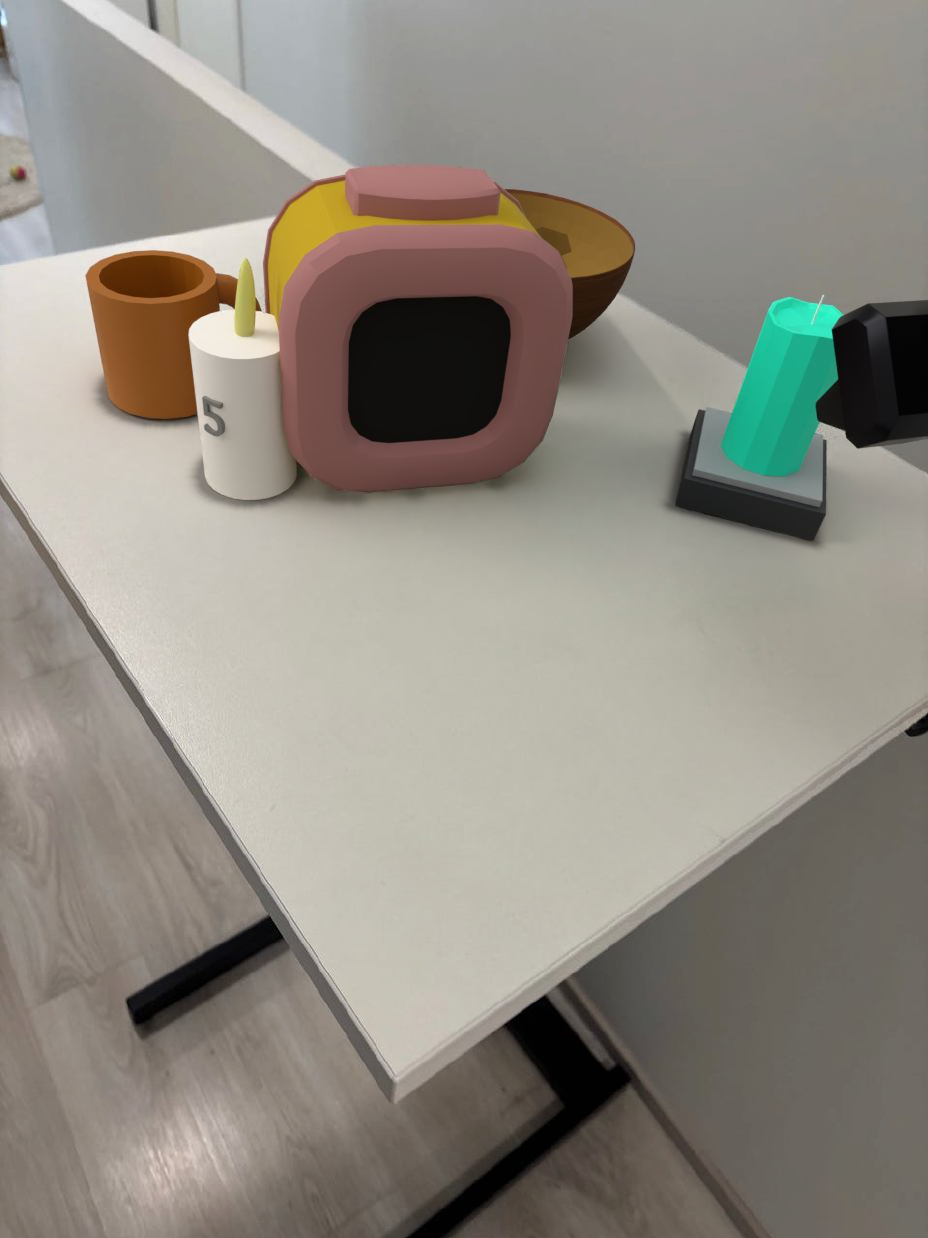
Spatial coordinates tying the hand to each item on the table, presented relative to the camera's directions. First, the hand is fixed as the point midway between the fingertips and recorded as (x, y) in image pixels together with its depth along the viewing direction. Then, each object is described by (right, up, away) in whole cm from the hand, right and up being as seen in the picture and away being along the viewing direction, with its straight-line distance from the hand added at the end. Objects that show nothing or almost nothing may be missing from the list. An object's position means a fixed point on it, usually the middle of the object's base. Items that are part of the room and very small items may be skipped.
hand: (885, 405), depth 52 cm
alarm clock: (-28, 0, +15) cm, 32 cm away
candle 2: (-2, 0, +15) cm, 15 cm away
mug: (-45, +5, +19) cm, 49 cm away
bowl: (-20, +12, +29) cm, 37 cm away
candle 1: (-39, -2, +12) cm, 41 cm away
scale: (-3, -2, +17) cm, 17 cm away
